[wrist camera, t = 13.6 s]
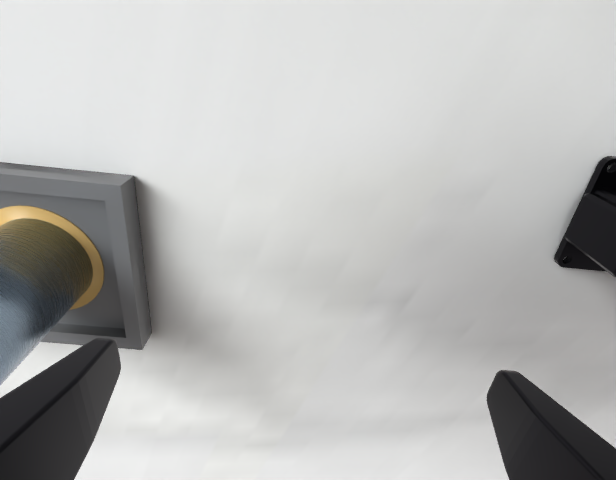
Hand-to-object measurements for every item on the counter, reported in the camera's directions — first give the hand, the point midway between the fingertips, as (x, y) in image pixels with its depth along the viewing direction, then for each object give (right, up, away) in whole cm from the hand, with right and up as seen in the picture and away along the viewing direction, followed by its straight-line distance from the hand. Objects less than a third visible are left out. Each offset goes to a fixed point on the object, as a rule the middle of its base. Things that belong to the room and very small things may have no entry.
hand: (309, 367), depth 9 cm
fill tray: (-15, +2, +14) cm, 21 cm away
